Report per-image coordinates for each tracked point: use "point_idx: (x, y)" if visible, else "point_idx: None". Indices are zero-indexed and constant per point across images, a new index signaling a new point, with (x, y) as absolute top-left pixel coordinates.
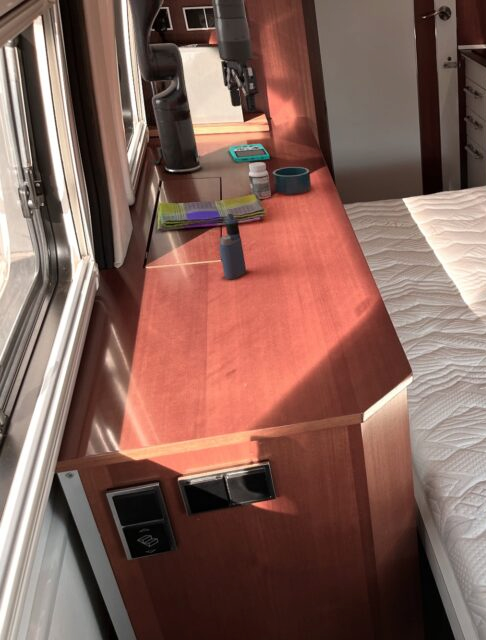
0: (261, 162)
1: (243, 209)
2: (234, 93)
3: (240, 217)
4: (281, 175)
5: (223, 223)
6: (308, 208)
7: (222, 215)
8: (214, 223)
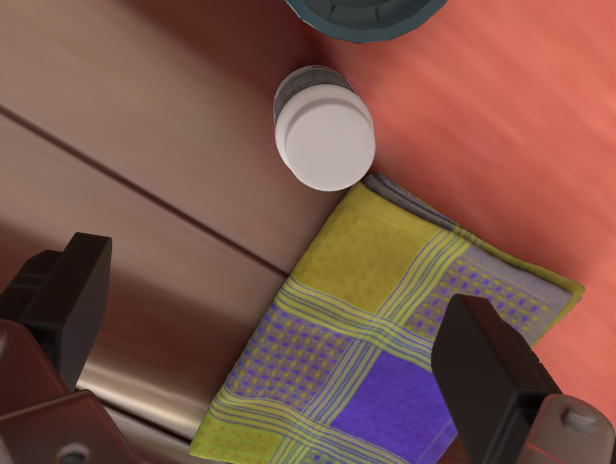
0: (321, 111)
1: None
2: (66, 368)
3: None
4: (390, 29)
5: None
6: (607, 85)
7: None
8: None
